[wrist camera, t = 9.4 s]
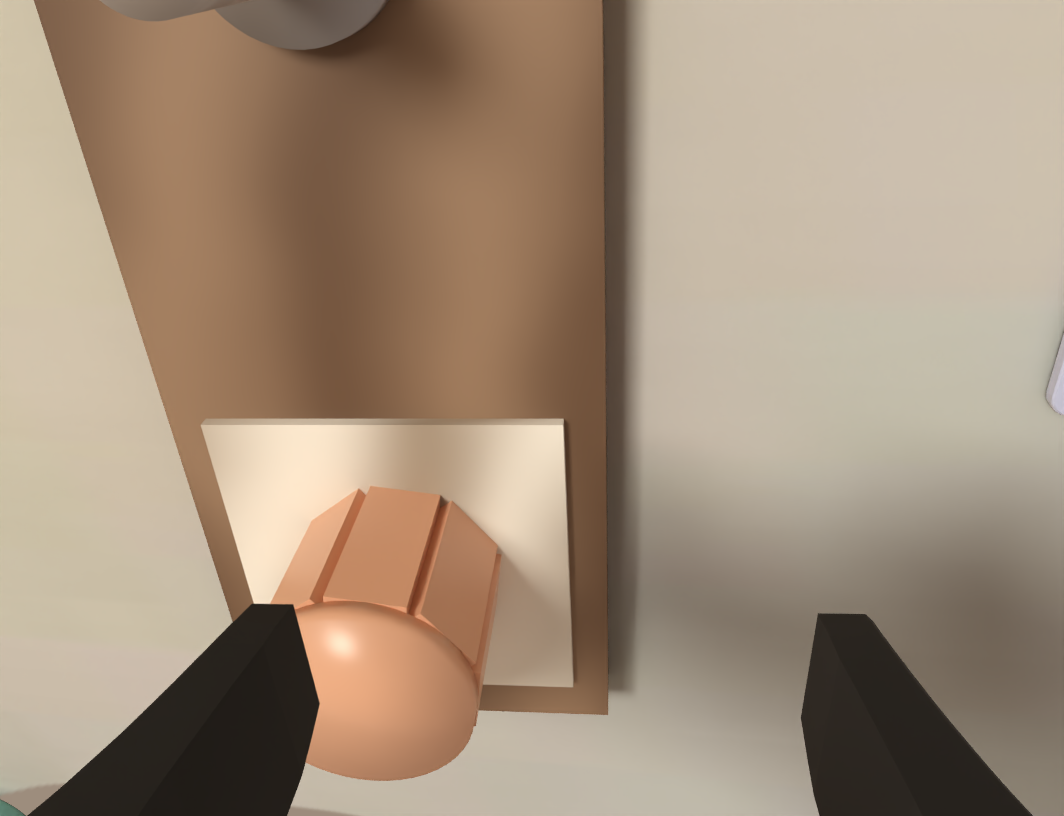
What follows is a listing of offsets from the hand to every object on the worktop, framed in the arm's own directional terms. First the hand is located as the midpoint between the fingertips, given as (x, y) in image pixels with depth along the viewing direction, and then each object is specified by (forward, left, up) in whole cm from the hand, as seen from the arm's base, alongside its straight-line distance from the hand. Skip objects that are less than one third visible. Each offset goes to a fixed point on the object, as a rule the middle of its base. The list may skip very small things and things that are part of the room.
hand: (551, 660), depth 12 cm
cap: (+5, +6, -9) cm, 12 cm away
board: (+5, -2, -10) cm, 12 cm away
